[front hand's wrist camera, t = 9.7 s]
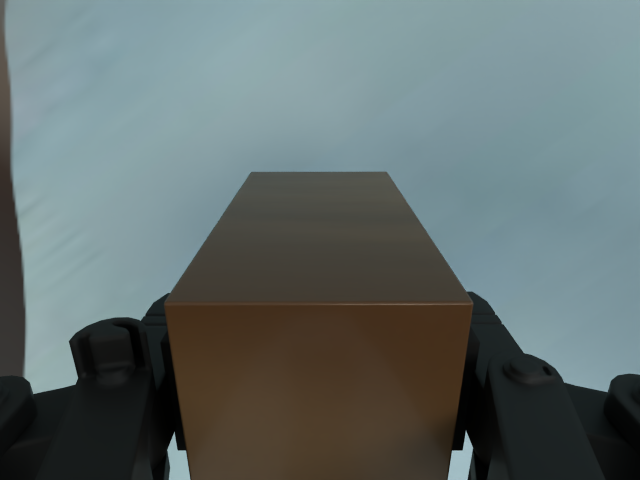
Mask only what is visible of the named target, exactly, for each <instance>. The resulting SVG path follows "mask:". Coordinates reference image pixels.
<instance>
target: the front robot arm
mask: <svg viewBox="0 0 640 480" xmlns="http://www.w3.org/2000/svg"><path fill="white" fill-rule="evenodd" d="M169 294H170V293H167V294H166V295H164V296H163V297H161V298H160V299H158V300H157V301H155V302H154V303H153V304H152V306H151V307H150V309H149V310H148V311H147V313H146V316H144V317H143V318H142V320H141V321H140V320H137V319H133V318H129V317H124V318H111V319H106V320H101V321H99V322H96V323H93V324H91V325H88V326H86V327H85V328H83V329H82V330H80V331H78V332H77V333H76V334H75V335H74V336H73V337H72V338H71V339H70V341H69V344H70V347H71V351H72V355H73V359H74V363H75V367H76V371H77V375H78V380H77V382H76V385H72V386H69V387H65V388H60V389H56V390H51V391H46V392H41V393H36V394H33V392H32V388H31V385H30V382H28V381H27V380H26V379H25V378H23V377H18V376H3V377H0V480H169V471H170V465H169V458H168V452H167V449H168V446H169V444H170V441H171V439H172V436H173V434H174V431H175V437H176V443H177V449H178V450H186V446H185V440H184V433H183V427H182V420H181V414H180V407H179V401H178V394H177V388H176V381H175V375H174V368H173V361H172V355H171V348H170V342H169V335H168V329H167V322H166V316H165V309H164V302H165V300H166V299H167V297H168V296H169ZM467 294H468V295H469V297H470V298H471V300H472V301H473V310H472V317H471V324H470V330H469V337H468V344H467V351H466V358H465V364H464V371H463V378H462V385H461V392H460V398H459V405H458V412H457V419H456V426H455V432H454V439H453V446H452V450H463V444H464V438H465V432H466V431H467V433H468V436H469V438H470V441H471V443H472V446H473V452H472V458H471V464H470V469H469V475H468V480H640V375H636V374H624V375H618V376H616V377H615V378H614V379H613V380H612V381H611V383H610V386H609V390H608V392H603V391H598V390H593V389H589V388H584V387H579V386H575V385H571V384H567V383H564V382H563V379H562V377H561V376H560V375H559V373H558V372H557V370H556V369H555V368H554V367H552V366H551V365H549V364H548V363H547V362H545V361H544V360H541V359H539V358H537V357H535V356H532V355H529V354H525V353H523V351H522V350H521V349H520V347H519V346H518V344H517V343H516V342H515V340H514V339H513V337H512V336H511V335H510V333H509V332H508V330H507V329H506V327H505V326H504V325H503V324H502V322H501V320H500V319H499V318H498V316H497V315H495V312H494V311H493V309H492V308H491V306H490V305H489V304H488V302H487V301H486V300H484V299H483V298H481V297H480V296H478V295H477V294H475V293H474V292H467Z"/></svg>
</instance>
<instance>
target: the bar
mask: <svg viewBox="0 0 640 480" xmlns="http://www.w3.org/2000/svg"><path fill="white" fill-rule="evenodd" d="M164 309H165V316H166V322H167V329H168V335H169V342H170V348H171V355H172V361H173V368H174V375H175V381H176V388H177V394H178V401H179V407H180V414H181V420H182V427H183V433H184V440H185V446H186V453H187V459H188V466H189V472H190V479H191V480H448V473H449V466H450V460H451V453H452V446H453V439H454V432H455V426H456V419H457V412H458V405H459V398H460V392H461V385H462V378H463V371H464V364H465V358H466V351H467V344H468V337H469V330H470V324H471V317H472V310H473V301H472V300H471V298H470V297H469V295H468V294H467V292H466V291H465V289H464V288H463V286H462V284H461V283H460V281H459V280H458V278H457V277H456V275H455V274H454V272H453V271H452V269H451V268H450V266H449V265H448V263H447V262H446V260H445V259H444V257H443V256H442V254H441V253H440V251H439V250H438V248H437V247H436V245H435V244H434V242H433V241H432V239H431V238H430V236H429V235H428V233H427V232H426V230H425V229H424V227H423V226H422V224H421V223H420V221H419V220H418V218H417V217H416V215H415V214H414V212H413V211H412V209H411V208H410V206H409V205H408V203H407V202H406V200H405V198H404V197H403V195H402V194H401V192H400V191H399V189H398V188H397V186H396V185H395V183H394V182H393V180H392V179H391V177H390V176H389V174H388V173H387V172H251V173H250V175H249V176H248V178H247V179H246V181H245V182H244V184H243V185H242V187H241V188H240V190H239V191H238V193H237V194H236V196H235V197H234V199H233V200H232V202H231V203H230V205H229V206H228V208H227V209H226V211H225V212H224V214H223V215H222V217H221V218H220V220H219V221H218V223H217V224H216V226H215V227H214V229H213V230H212V232H211V233H210V234H209V236H208V237H207V239H206V240H205V242H204V243H203V245H202V246H201V248H200V249H199V251H198V252H197V254H196V255H195V257H194V258H193V260H192V261H191V263H190V264H189V266H188V267H187V269H186V270H185V272H184V273H183V275H182V276H181V278H180V279H179V281H178V282H177V284H176V285H175V287H174V288H173V290H172V291H171V293H170V294H169V296H168V297H167V299H166V300H165V302H164Z"/></svg>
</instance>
